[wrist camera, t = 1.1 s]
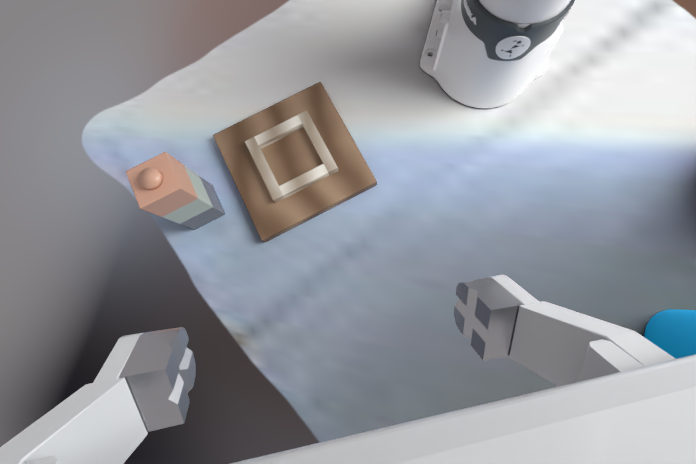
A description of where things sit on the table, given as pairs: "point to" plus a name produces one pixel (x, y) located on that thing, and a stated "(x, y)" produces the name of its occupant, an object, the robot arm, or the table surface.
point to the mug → (673, 332)
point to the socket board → (294, 161)
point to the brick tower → (174, 192)
